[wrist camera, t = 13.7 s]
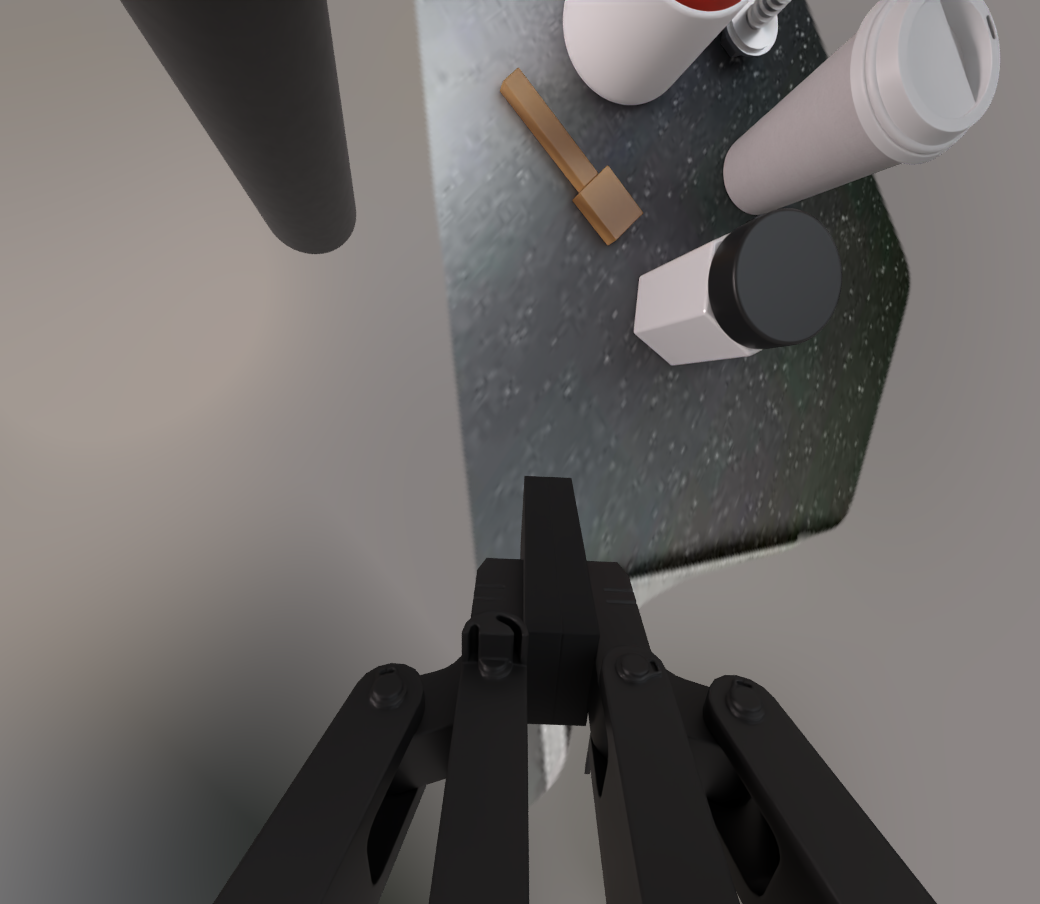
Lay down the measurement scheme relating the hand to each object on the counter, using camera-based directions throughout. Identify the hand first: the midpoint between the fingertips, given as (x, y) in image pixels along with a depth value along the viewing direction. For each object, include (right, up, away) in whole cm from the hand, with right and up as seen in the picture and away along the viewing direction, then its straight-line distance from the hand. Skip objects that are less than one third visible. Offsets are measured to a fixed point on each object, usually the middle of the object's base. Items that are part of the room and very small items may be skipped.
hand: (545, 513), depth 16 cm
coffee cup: (+19, +26, +26) cm, 41 cm away
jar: (+12, +14, +25) cm, 31 cm away
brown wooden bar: (+3, +24, +21) cm, 32 cm away
